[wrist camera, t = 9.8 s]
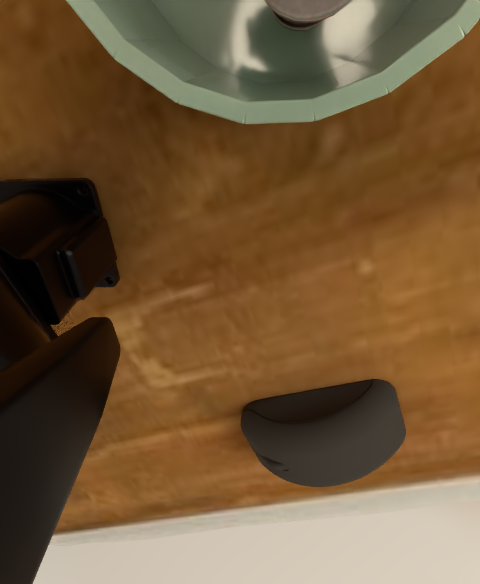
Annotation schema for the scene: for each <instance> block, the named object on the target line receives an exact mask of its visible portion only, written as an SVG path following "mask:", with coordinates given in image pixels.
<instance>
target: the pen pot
mask: <svg viewBox="0 0 480 584" xmlns="http://www.w3.org/2000/svg"><path fill="white" fill-rule="evenodd" d="M66 2H67V3H68V4H69V5H70V6H71V8H72V9H73V10H74V11H75V13H76V14H77V15H78V16H79V17H80V19H81V20H82V21H83V22H84V24H85V25H86V26H87V27H88V28H89V30H90V31H91V32H92V33H93V35H94V36H95V37H96V38H97V39H98V41H99V42H100V43H101V44H102V46H103V47H104V48H105V49H106V50H107V52H108V53H109V54H110V55H111V56H112V57H114V60H115V61H117V62H118V63H120V64H121V65H123V66H124V67H125V68H127V69H128V70H130V71H131V72H132V73H134V74H135V75H137V76H138V77H140V78H141V79H142V80H144V81H145V82H147V83H148V84H149V85H151V86H152V87H154V88H155V89H156V90H158V91H159V92H161V93H162V94H164V95H165V96H166V97H168V98H169V99H171V100H172V101H173V102H175V103H178V104H179V105H183V106H186V107H189V108H192V109H195V110H199V111H202V112H205V113H208V114H212V115H215V116H218V117H221V118H224V119H228V120H231V121H234V122H237V123H241V124H244V123H245V124H273V123H299V122H313V121H318V120H321V119H324V118H326V117H329V116H332V115H334V114H337V113H340V112H342V111H345V110H348V109H350V108H353V107H356V106H358V105H361V104H363V103H366V102H369V101H371V100H374V99H377V98H379V97H382V96H385V95H387V94H388V93H391V92H392V91H393V90H395V89H396V88H397V87H399V86H400V85H401V84H403V83H404V82H405V81H407V80H408V79H409V78H411V77H412V76H413V75H415V74H416V73H417V72H419V71H420V70H421V69H423V68H424V67H425V66H427V65H428V64H429V63H431V62H432V61H433V60H435V59H436V58H437V57H439V56H440V55H441V54H443V53H444V52H445V51H447V50H448V49H449V48H451V47H452V46H454V45H455V44H456V43H458V42H459V41H460V40H462V39H463V38H464V35H466V34H468V32H469V31H470V30H471V29H472V28H473V26H474V25H475V24H476V23H477V22H478V21H479V19H480V0H353V1H352V2H350V3H349V4H348V5H347V6H345V7H344V8H343V9H341V10H340V11H339V12H338V13H336V14H335V15H333V16H331V17H328V18H327V19H326V20H325V21H323V22H322V23H321V24H319V25H318V26H317V27H314V28H311V29H309V30H306V31H293V30H290V29H288V28H285V27H283V26H282V25H281V24H280V23H279V22H278V21H277V20H276V19H275V18H274V16H273V14H272V12H271V9H270V7H269V6H268V5H267V4H266V3H265V1H264V0H66Z"/></svg>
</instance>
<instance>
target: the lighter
mask: <svg viewBox="0 0 480 584" xmlns="http://www.w3.org/2000/svg"><path fill="white" fill-rule="evenodd" d="M264 1H265V3H266V4H267V5H268V6H269V7H270V9H271V12H272V14H273V16H274V18H275V19H276V20H277V21H278V22H279V23H280V24H281V25H282V26H283V27H285V28H288V29H290V30H293V31H306V30H309V29H311V28H314V27H317V26H318V25H319V24H321V23H322V22H323V21H325V20H326V19H327V18H328V17H331V16H333V15H335V14H336V13H338V12H339V11H340V10H341V9H343V8H344V7H345V6H347V5H348V4H349V3H350V2H352V1H353V0H264Z"/></svg>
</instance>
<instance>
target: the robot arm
mask: <svg viewBox="0 0 480 584" xmlns="http://www.w3.org/2000/svg"><path fill="white" fill-rule="evenodd" d="M82 185H84V186H86V187H87V189H88V192H85V191H84V190H83V188H82ZM116 260H117V256H116V253H115V249H114V245H113V241H112V237H111V234H110V230H109V226H108V222H107V220H106V219H105V218H104V217H103V213H102V209H101V206H100V202H99V198H98V195H97V191H96V187H95V185H94V183H93V182H92V181H91V180H89V179H87V178H56V179H11V180H0V584H33V581H34V579H35V576H36V574H37V571H38V569H39V567H40V564H41V562H42V559H43V557H44V555H45V552H46V550H47V547H48V545H49V543H50V540H51V538H52V535H53V533H54V531H55V528H56V526H57V523H58V521H59V518H60V516H61V514H62V511H63V509H64V506H65V504H66V502H67V499H68V497H69V494H70V492H71V490H72V487H73V485H74V482H75V480H76V477H77V475H78V473H79V470H80V468H81V465H82V463H83V461H84V458H85V456H86V453H87V451H88V449H89V446H90V444H91V441H92V439H93V436H94V434H95V432H96V429H97V427H98V424H99V422H100V419H101V417H102V414H103V411H104V408H105V404H106V401H107V398H108V394H109V391H110V387H111V384H112V380H113V377H114V374H115V370H116V367H117V363H118V360H119V356H120V344H119V341H118V338H117V335H116V332H115V329H114V326H113V324H112V321H111V320H110V319H109V318H107V317H92V318H89V319H87V320H85V321H84V322H82V323H80V324H79V325H77V326H75V327H73V328H72V329H70V330H68V331H67V332H65V333H63V334H62V335H60V336H57V334H56V333H55V331H54V330H53V329H52V327H51V326H50V325H57V324H59V323H60V322H61V321H62V319H63V318H64V317H65V316H66V315H67V313H68V312H69V311H70V310H71V309H72V307H73V306H74V305H75V304H76V302H77V301H78V300H84V299H85V298H86V297H87V296H88V295H89V293H90V292H91V291H92V290H93V288H94V287H114V286H116V285H117V283H118V282H119V280H120V277H119V273H118V269H117V266H116V262H115V261H116ZM108 277H111V278H112V279H113V280H110V279H109V278H108Z"/></svg>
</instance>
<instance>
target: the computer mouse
mask: <svg viewBox="0 0 480 584" xmlns="http://www.w3.org/2000/svg"><path fill="white" fill-rule="evenodd" d="M241 429H242V431H243V434H244V435H245V437H246V439H247V440H248V442H249V444H250V445H251V447H252V449H253V450H254V452H255V454H256V455H257V457H258V459H259V461H260V462H261V463H262V464H263V465H264V466H265V467H266V468H267V469H268V470H269V471H271V472H272V473H273V474H275V475H277V476H278V477H280V478H282V479H284V480H286V481H289V482H292V483H295V484H299V485H303V486H311V487H328V486H336V485H341V484H345V483H348V482H351V481H354V480H357V479H359V478H362V477H364V476H366V475H368V474H369V473H371V472H373V471H374V470H376V469H377V468H379V467H380V466H381V465H383V464H384V463H385V462H386V461H387V460H388V459H390V458H391V457H392V456H393V455H394V453H395V452H396V451H397V450H398V449H399V447H400V446H401V445H402V443H403V441H404V439H405V435H406V430H405V425H404V421H403V417H402V413H401V409H400V405H399V401H398V397H397V394H396V391H395V388H394V387H393V386H392V385H391V384H390V383H388V382H386V381H382V380H371V381H369V380H368V381H362V382H357V383H351V384H345V385H340V386H334V387H329V388H323V389H318V390H312V391H307V392H301V393H296V394H290V395H284V396H279V397H273V398H268V399H262V400H258V401H255V402H252V403H251V404H249V405H248V406H247V408H246V409H245V411H244V412H243V414H242V417H241Z"/></svg>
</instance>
